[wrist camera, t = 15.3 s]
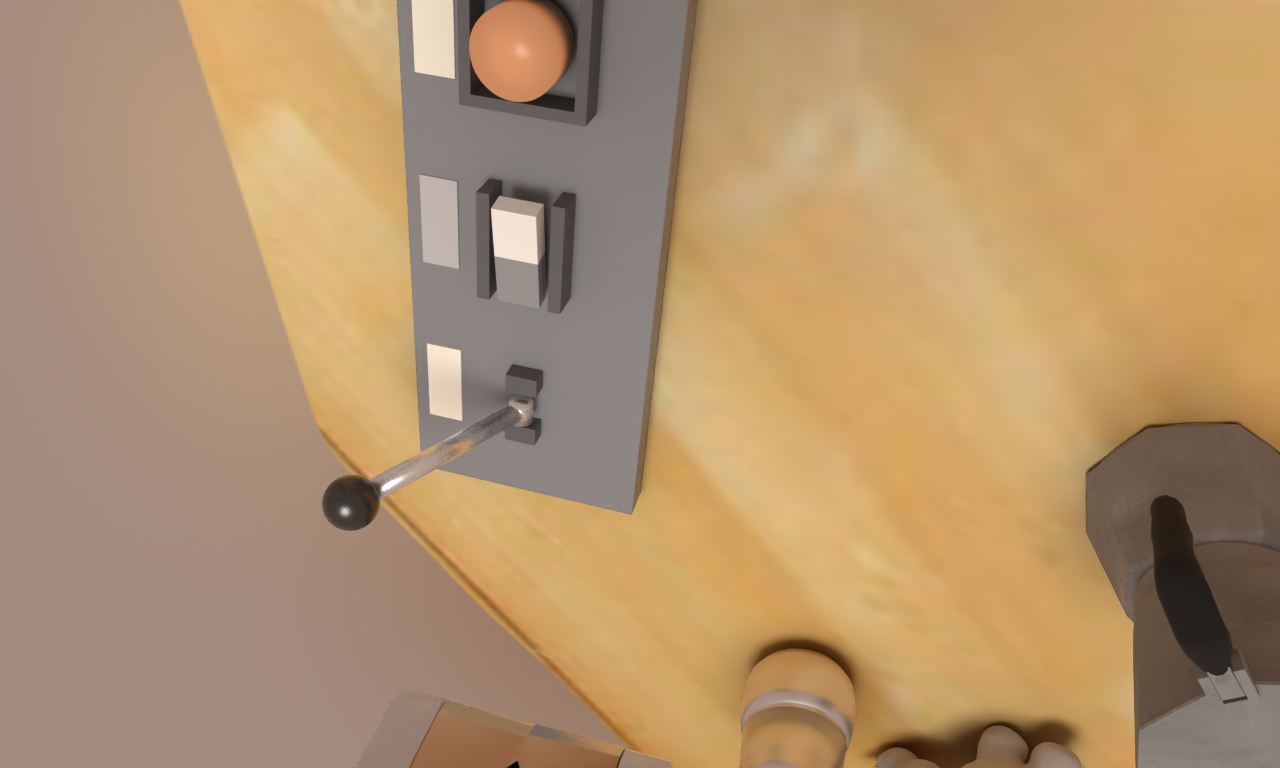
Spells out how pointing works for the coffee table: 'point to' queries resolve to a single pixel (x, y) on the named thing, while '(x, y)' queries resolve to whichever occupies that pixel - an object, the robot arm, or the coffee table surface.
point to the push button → (521, 48)
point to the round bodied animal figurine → (993, 754)
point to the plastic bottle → (796, 712)
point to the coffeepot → (1196, 589)
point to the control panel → (574, 240)
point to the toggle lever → (415, 467)
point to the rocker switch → (519, 251)
